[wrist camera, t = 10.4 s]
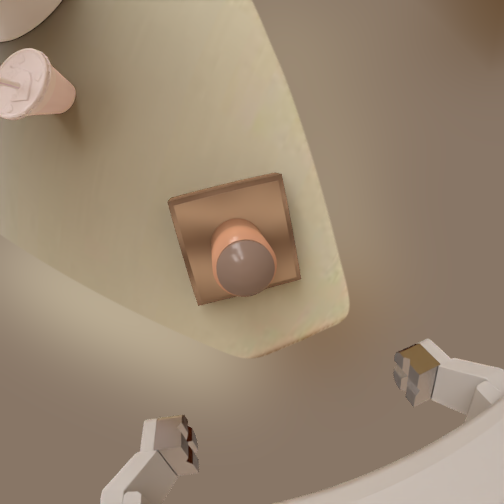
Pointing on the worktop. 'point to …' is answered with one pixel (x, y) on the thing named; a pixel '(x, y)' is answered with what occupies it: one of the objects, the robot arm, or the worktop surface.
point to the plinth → (229, 207)
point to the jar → (242, 258)
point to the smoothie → (32, 86)
